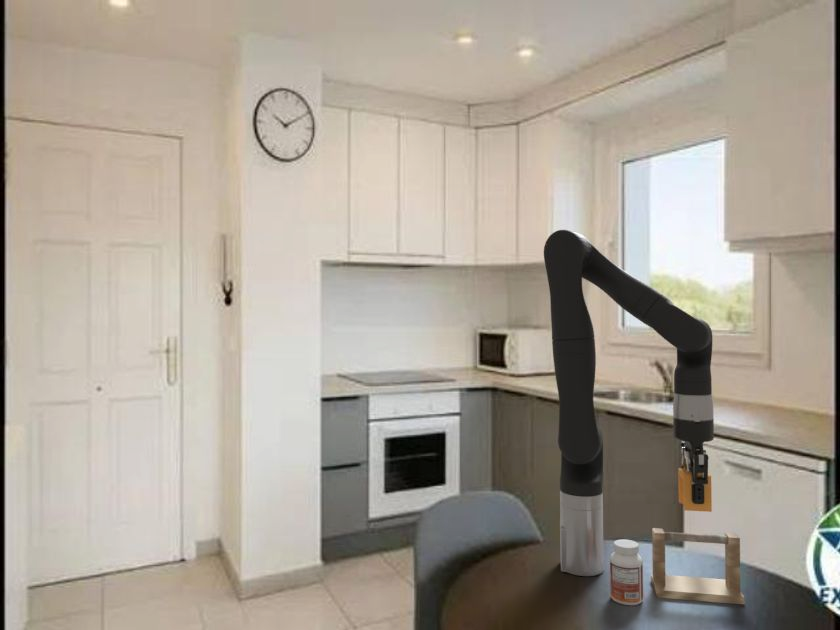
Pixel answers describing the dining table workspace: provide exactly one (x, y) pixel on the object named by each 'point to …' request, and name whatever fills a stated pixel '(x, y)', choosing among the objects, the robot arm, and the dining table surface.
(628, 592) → the pill bottle
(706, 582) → the rack
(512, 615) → the dining table surface
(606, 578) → the dining table surface
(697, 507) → the notched orange block
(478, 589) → the dining table surface
